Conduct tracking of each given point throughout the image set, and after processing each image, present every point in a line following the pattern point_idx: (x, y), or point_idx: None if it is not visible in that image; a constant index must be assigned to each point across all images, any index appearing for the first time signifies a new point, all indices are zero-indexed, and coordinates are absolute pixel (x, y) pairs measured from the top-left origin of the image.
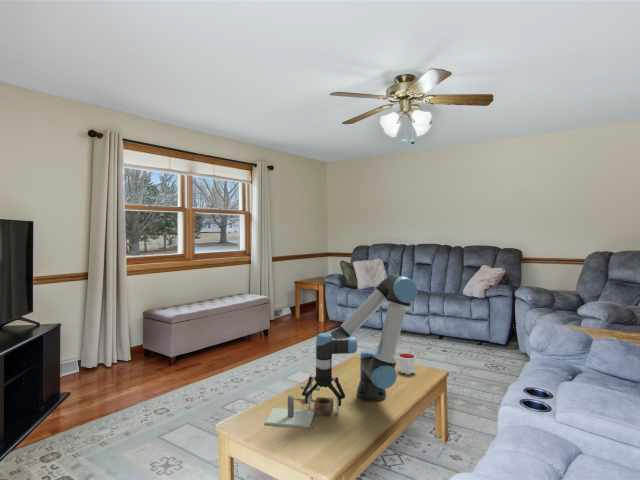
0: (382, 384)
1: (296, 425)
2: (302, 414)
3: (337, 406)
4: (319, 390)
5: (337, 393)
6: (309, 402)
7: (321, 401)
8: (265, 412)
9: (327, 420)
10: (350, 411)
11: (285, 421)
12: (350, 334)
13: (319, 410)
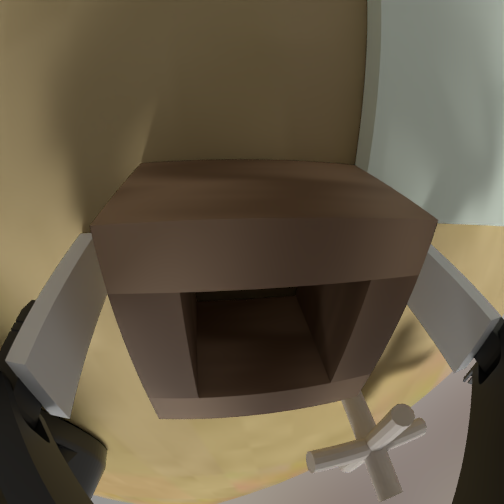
0: None
1: None
2: (464, 134)
3: (53, 286)
4: (311, 452)
5: (3, 473)
6: (448, 287)
7: (301, 360)
8: None
9: (176, 47)
10: (19, 299)
11: None
12: None
13: (317, 179)
